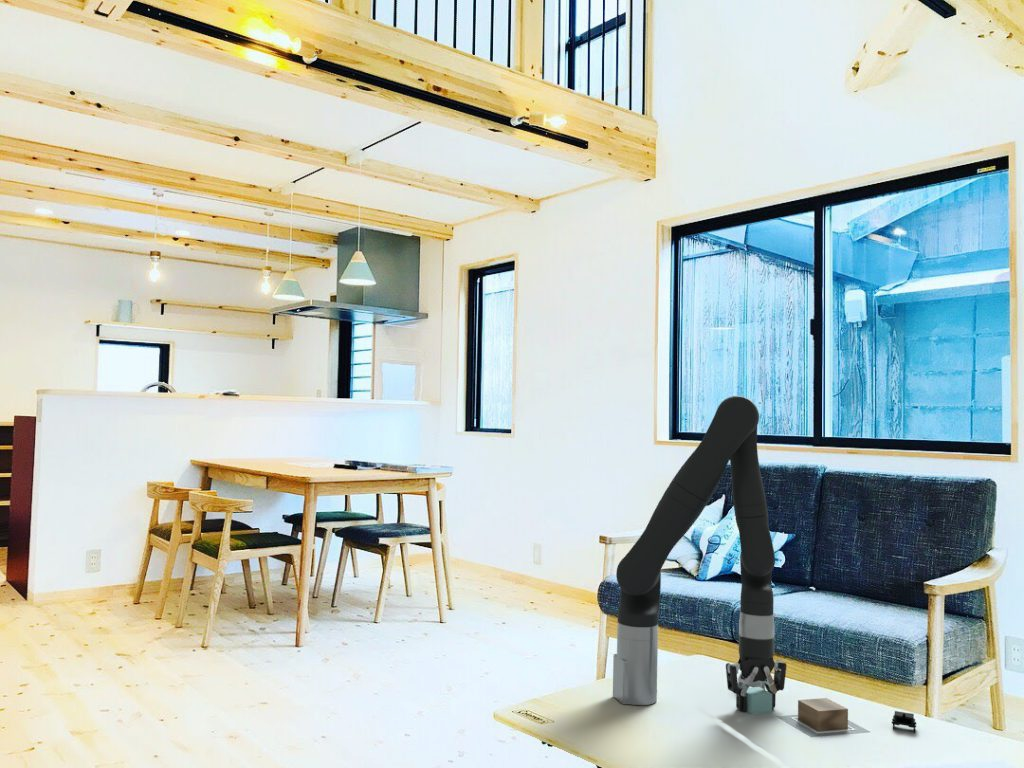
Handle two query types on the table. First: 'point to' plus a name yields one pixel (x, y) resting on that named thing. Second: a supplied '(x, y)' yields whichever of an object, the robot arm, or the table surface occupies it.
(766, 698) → the teal cube
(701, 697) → the table surface
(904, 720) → the black stepped block
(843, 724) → the walnut block
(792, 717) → the board
